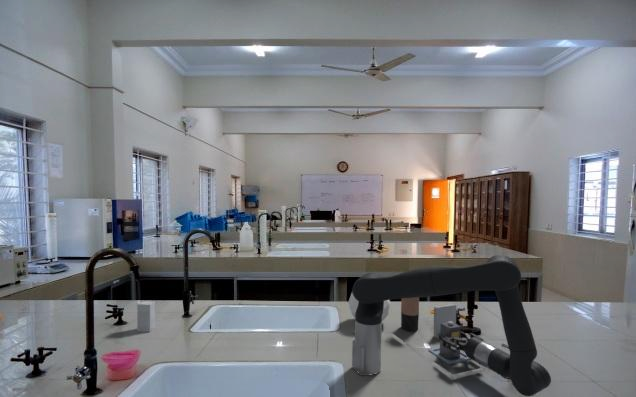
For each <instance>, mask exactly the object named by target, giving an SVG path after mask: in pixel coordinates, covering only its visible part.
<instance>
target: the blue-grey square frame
mask: <svg viewBox="0 0 636 397" xmlns="http://www.w3.org/2000/svg"><path fill="white" fill-rule="evenodd" d="M427 351H428V352H430V353H431V354H433V355H434V356H435V357H438V358H439V359H441V360H442V361H444V362H445V363H447V364H448V365H452V364H456V363H462V362H464V361H471V359H470V358H468V357H467V355H466V354H465V352H464V351H462V350H460V355H462V356H464V357H462V358H457V359H456V358H455V359H453V360H452V359H451V360H450V359H447V358H446V357H445V356H443V355H442V354H440V353H438V352H436V351H440V346H437V347H432V348H428V349H427Z"/></svg>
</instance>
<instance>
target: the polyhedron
mask: <svg viewBox="0 0 636 397" xmlns="http://www.w3.org/2000/svg"><path fill="white" fill-rule="evenodd" d="M358 303H359V301H357V300H356V299H355V297H354V296H353V293H352V292H351V294H350V297H349V299H348V302H347V304H348V306H349V309H350V312H351V315H352V316H353V318H355V313H356V310H357V307H358ZM390 308H391V300H385V301H384V308H383V314H382V322H383V321H385V319H386V318H387V317H388V315H389V313H390Z"/></svg>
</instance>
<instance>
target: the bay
mask: <svg viewBox="0 0 636 397" xmlns="http://www.w3.org/2000/svg"><path fill="white" fill-rule="evenodd" d="M448 321H452V322H453V323H455V324H457V304H455V303H453V304H446V305H438V306H434V307H433V337H434V338H436V339H437V338H438V339H437V340H439V333H440V326H441V323H445V322H448Z"/></svg>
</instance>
